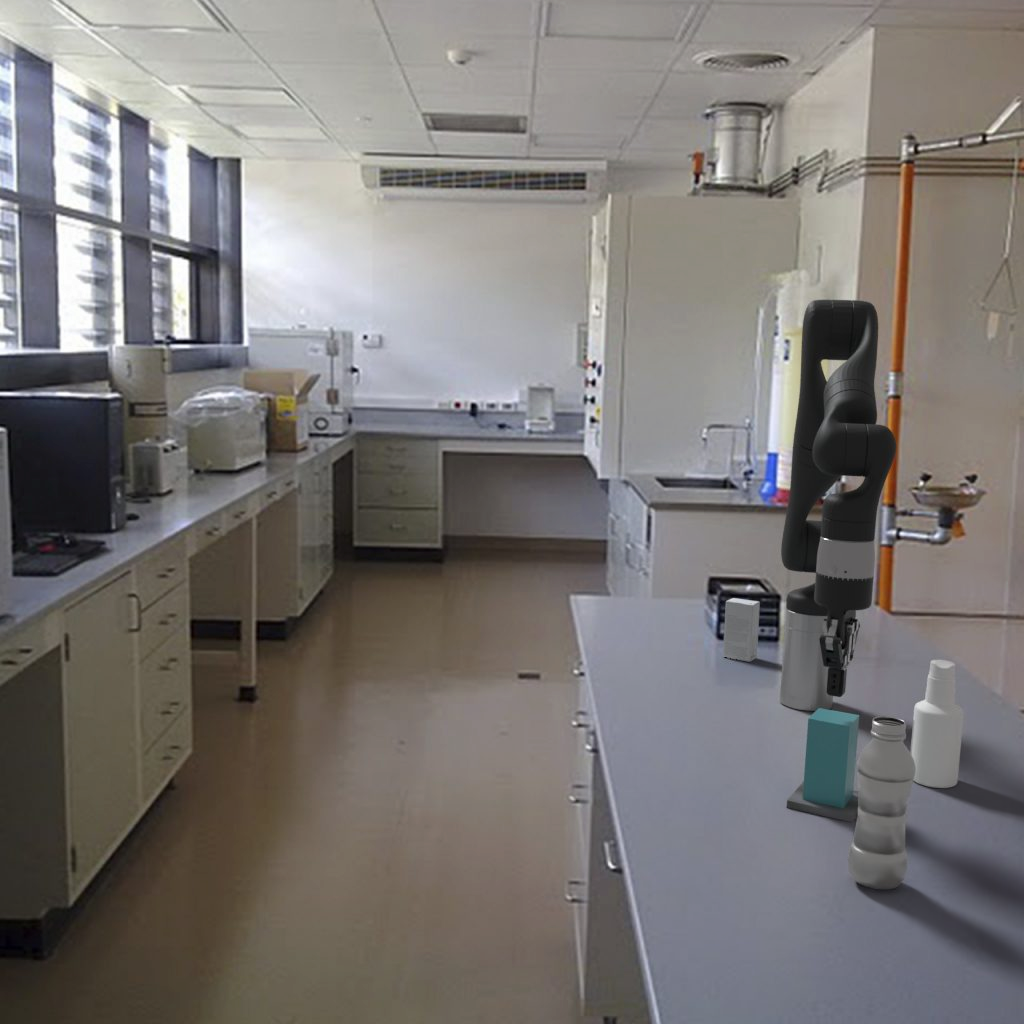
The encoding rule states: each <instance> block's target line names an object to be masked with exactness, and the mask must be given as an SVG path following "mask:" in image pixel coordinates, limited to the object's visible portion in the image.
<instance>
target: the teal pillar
mask: <svg viewBox="0 0 1024 1024" xmlns="http://www.w3.org/2000/svg"><path fill="white" fill-rule="evenodd" d="M859 722H860V715H859V714H854V713H849V712H843V711H839V710H833V709H822V708H818V709H817V710H816V711H813V713H812V714H811V715H810V716H809V717H808V719H807V733H806V745H805V746H806V747H805V748H806V749H805V759H804V760H805V762H804V773H803V775H804V776H803V781H804V786H803V799H804V800H808V801H813V802H817V803H822V804H826V805H831V806H835V807H840V808H844V807H845V806H846V804H847V803H848V801H849V800H850V799H851V797H852V796H853V790H854V791H855V789H854V788H855V774H856V765H857V750H858V736H859V725H860V724H859Z"/></svg>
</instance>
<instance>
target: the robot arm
mask: <svg viewBox="0 0 1024 1024" xmlns="http://www.w3.org/2000/svg"><path fill="white" fill-rule="evenodd" d="M801 329H802V332H801V351H800V352H801V356H800V358H801V360H800V379H799V380H800V381H799V383H800V384H799V395H798V405H797V412H796V413H797V414H796V419H795V427H794V433H793V440H792V442H793V443H792V452H791V453H792V454H791V468H790V469H791V473H790V488H789V496H788V503H787V508H786V515H785V519H784V526H783V532H782V538H781V539H782V540H781V547H780V548H781V549H780V552H781V553H780V555H781V561H782V564H783V567H784V568H785V569H787V570H789V571H790V572H791V571H792V572H797V573H812V574H815V582H814V583H812V584H810V585H807V586H804V587H800V588H796V589H793V590H791V591H790V592H788V594H787V595H786V603H785V617H784V618H785V620H784V630H783V631H784V632H783V633H784V635H783V636H784V637H783V645H782V647H783V649H782V650H783V651H782V660H781V661H782V663H781V677H780V678H781V679H780V691H779V702H780V703H781V704H783V705H784V706H786V707H788V708H790V709H796V710H801V711H807V712H808V711H810V712H811V711H812V712H815V711H816V710H817V709H818V708H822V709H828V710H831V709H832V707H833V705H834V704H833V701H834V697H838V698H840V697H843V695H845V693H846V687H847V674H848V673H847V672H848V669H849V667H850V666H851V663H850V662H852V660H853V659H854V653H855V648H856V645H857V644H856V643H857V640H858V634H859V630H860V628H861V624H860V620H859V618H856V617H857V611H863V610H867V609H869V608H870V607H871V606H872V601H873V590H874V589H873V588H874V580H875V579H874V577H875V576H874V575H875V564H876V563H875V562H876V548H875V538H876V524H877V514H878V507H879V503H880V499H881V495H882V492H883V488H884V486H885V483H886V480H887V478H888V475H889V473H890V470H891V468H892V466H893V463H894V460H895V457H896V453H897V441H896V437H895V435H894V433H893V432H892V430H891V429H890V428H889V427H888V426H886V425H882V424H877V421H878V410H877V401H876V392H875V391H876V389H875V377H876V370H877V359H878V345H879V344H878V343H879V318H878V313H877V310H876V307H875V306H874V304H873V303H871V302H869V301H865V300H858V299H857V300H854V299H853V300H852V299H816V300H815V299H814V300H812V301H809V303H808V305H807V306H806V308H805V311H804V315H803V320H802V328H801ZM825 360H827V361H845V362H843V363H842V364H840V366H839V367H837V368H836V369H835V370H834V372H832V374H831V375H830V376H829V378H828V379H826V375H825V373H824V370H823V366H822V361H825ZM843 476H844V477H845V476H846V477H847V476H848V477H861V478H862V477H863V478H864V480H863V481H862V483H861V484H860V486H858V487H857V488H854V489H853V490H848V491H843V492H841V491H840V492H835V493H831V494H828V495H827V496H826V497H824V499H823V503H822V509H821V520H810V519H808V516H809V514H810V513H811V511H812V509H813V508H814V506H815V504H816V503H817V502H818V501H819V500H820V499H821V498H822V497H823V496H824V495H825V494H826V493H828V491H829V490H830V489H831V488H832V487H833V486H834V485H835V484H836V483H837V482H838V481H839V480H840V478H841V477H843Z"/></svg>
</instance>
